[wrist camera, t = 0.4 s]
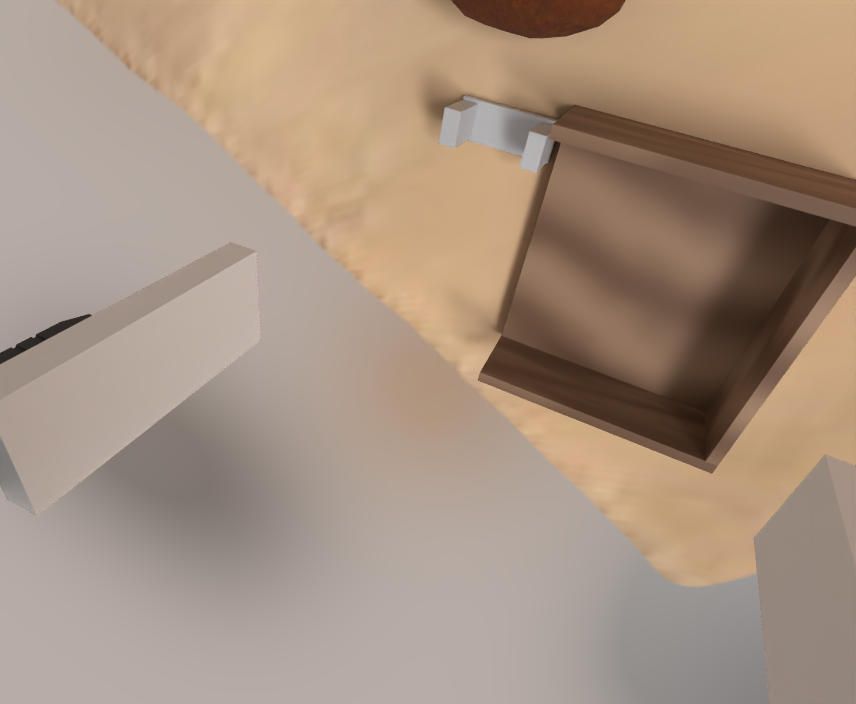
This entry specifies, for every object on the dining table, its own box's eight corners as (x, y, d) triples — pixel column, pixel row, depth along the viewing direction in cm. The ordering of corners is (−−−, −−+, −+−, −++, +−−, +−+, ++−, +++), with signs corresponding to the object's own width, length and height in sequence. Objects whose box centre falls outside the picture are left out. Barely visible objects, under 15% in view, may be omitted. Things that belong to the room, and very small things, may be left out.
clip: (466, 94, 33) (445, 103, 30) (561, 120, 32) (548, 132, 29) (458, 135, 35) (437, 146, 32) (549, 161, 33) (535, 176, 31)
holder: (575, 105, 31) (552, 124, 26) (862, 181, 28) (896, 219, 23) (503, 335, 41) (477, 380, 36) (710, 413, 38) (712, 473, 33)
